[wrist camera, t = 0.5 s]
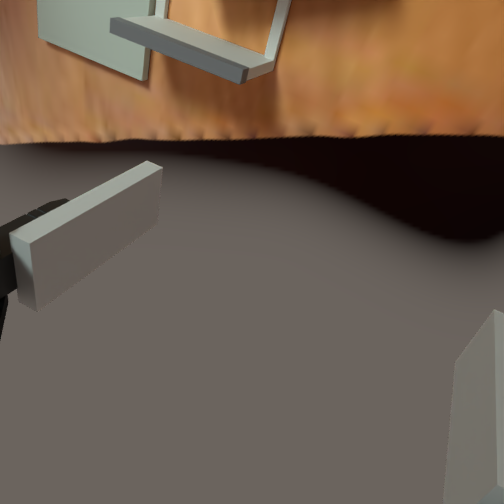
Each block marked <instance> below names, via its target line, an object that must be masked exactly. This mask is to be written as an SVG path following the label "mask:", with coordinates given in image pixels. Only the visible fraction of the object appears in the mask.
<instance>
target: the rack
mask: <svg viewBox="0 0 504 504" xmlns="http://www.w3.org/2000/svg"><path fill="white" fill-rule="evenodd" d="M291 1H292V0H278V2H277V6H276V10H275V14H274V18H273V22H272V26H271V30H270V34H269V38H268V42H267V46H266V50H265V54H264V55H262V54H260V53H257V52H255V51H252V50H249V49H247V48H244V47H241V46H239V45H236V44H233V43H231V42H228V41H225V40H223V39H220V38H218V37H215V36H212V35H210V34H207V33H204V32H202V31H199V30H196V29H194V28H191V27H188V26H186V25H183V24H181V23H178V22H175V21H173V20H170V19H167V14H168V5H169V0H156V9H155V15H154V16H142V17H129V18H120V17H114V18H110V31H109V33H111V34H114V35H116V36H119V37H121V38H124V39H126V40H129V41H132V42H134V43H137V44H139V45H142V46H144V47H147V48H149V49H152V50H154V51H157V52H159V53H162V54H164V55H167V56H169V57H172V58H174V59H177V60H179V61H182V62H184V63H187V64H189V65H192V66H194V67H197V68H199V69H202V70H204V71H207V72H209V73H212V74H214V75H217V76H219V77H222V78H224V79H227V80H229V81H232V82H234V83H237V84H239V85H240V84H243V83H245V82H246V81H248V80H250V79H253V78H255V77H258V76H261V75H263V74H266V73H268V72H271V71H273V69H274V65H275V62H276V58H277V54H278V50H279V46H280V43H281V39H282V35H283V31H284V27H285V24H286V20H287V16H288V12H289V8H290V5H291Z"/></svg>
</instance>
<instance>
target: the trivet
mask: <svg viewBox="0 0 504 504" xmlns="http://www.w3.org/2000/svg"><path fill="white" fill-rule="evenodd" d="M154 10H155V0H37V16H38V38H40V39H43V40H45V41H48V42H50V43H52V44H55V45H57V46H59V47H62V48H64V49H67V50H69V51H71V52H74V53H76V54H79V55H81V56H83V57H86V58H88V59H90V60H93V61H95V62H98V63H100V64H102V65H105V66H107V67H110V68H112V69H114V70H117V71H119V72H122V73H124V74H126V75H129V76H131V77H133V78H136V79H138V80H141V81H144V80H148V70H149V60H150V50H151V49H149V48H147V47H144V46H142V45H139V44H137V43H134V42H132V41H129V40H126V39H124V38H121V37H119V36H116V35H114V34H111V33H109V31H110V18H114V17H120V18H129V17H142V16H154Z"/></svg>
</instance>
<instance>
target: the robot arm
mask: <svg viewBox="0 0 504 504" xmlns="http://www.w3.org/2000/svg"><path fill="white" fill-rule="evenodd" d="M162 171H163V167H160V166H158V165H156V164H153V163H151V162H149V161H145V162H144V163H142V164H140V165H138V166H136V167H134V168H132V169H130V170H128V171H126V172H124V173H123V174H121V175H119V176H117V177H115V178H113V179H111V180H109V181H107V182H105V183H103V184H102V185H100V186H98V187H96V188H94V189H92V190H90V191H88V192H86V193H85V194H83V195H81V196H79V197H77V198H75V199H73V200H71V201H69V200H67V199H61V200H57V201H52V202H49V203H47V204H45V205H43V206H41V207H39V208H38V209H37V210H36V209H35V210H33V211H31V212H29V213H28V214H27V215H23V216H21V217H19V218H17V219H15V220H13V221H11V222H9V223H7V224H5V225H3V226H1V227H0V339H1V334H2V330H3V325H4V320H5V316H6V311H7V306H8V295H7V294H9V293H10V292H12V291H14V290H15V289H17V293H18V300H19V302H20V303H22V304H24V305H26V306H27V307H29V308H31V309H33V310H34V311H36V312H38V311H39V310H41V309H42V308H43V307H45V306H46V305H47V304H49V303H50V302H51V301H53V300H54V299H56V298H57V297H58V296H60V295H61V294H62V293H64V292H65V291H67V290H68V289H69V288H70V287H72V286H73V285H74V284H76V283H77V282H79V281H80V280H81V279H83V278H84V277H86V276H87V275H88V274H90V273H91V272H92V271H94V270H95V269H96V268H98V267H99V266H101V265H102V264H103V263H105V262H106V261H107V260H109V259H110V258H112V257H113V256H114V255H115V254H117V253H118V252H120V251H121V250H122V249H124V248H125V247H127V246H128V245H129V244H131V243H132V242H133V241H135V240H136V239H137V238H139V237H140V236H142V235H143V234H144V233H146V232H147V231H148V230H150V229H151V228H153V227H154V226H155V225H157V222H158V211H159V201H160V191H161V181H162ZM443 504H504V313H502V312H500V311H497V310H495V309H494V310H493V312H492V313H491V314H490V316H489V317H488V319H487V320H486V321H485V322H484V324H483V325H482V327H481V328H480V329H479V330H478V332H477V333H476V335H475V336H474V337H473V338H472V340H471V341H470V343H469V344H468V345H467V347H466V348H465V349H464V351H463V352H462V353H461V355H460V356H459V357H458V359H457V360H456V361H455V369H454V379H453V391H452V402H451V414H450V426H449V437H448V448H447V459H446V470H445V482H444V494H443Z"/></svg>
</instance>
